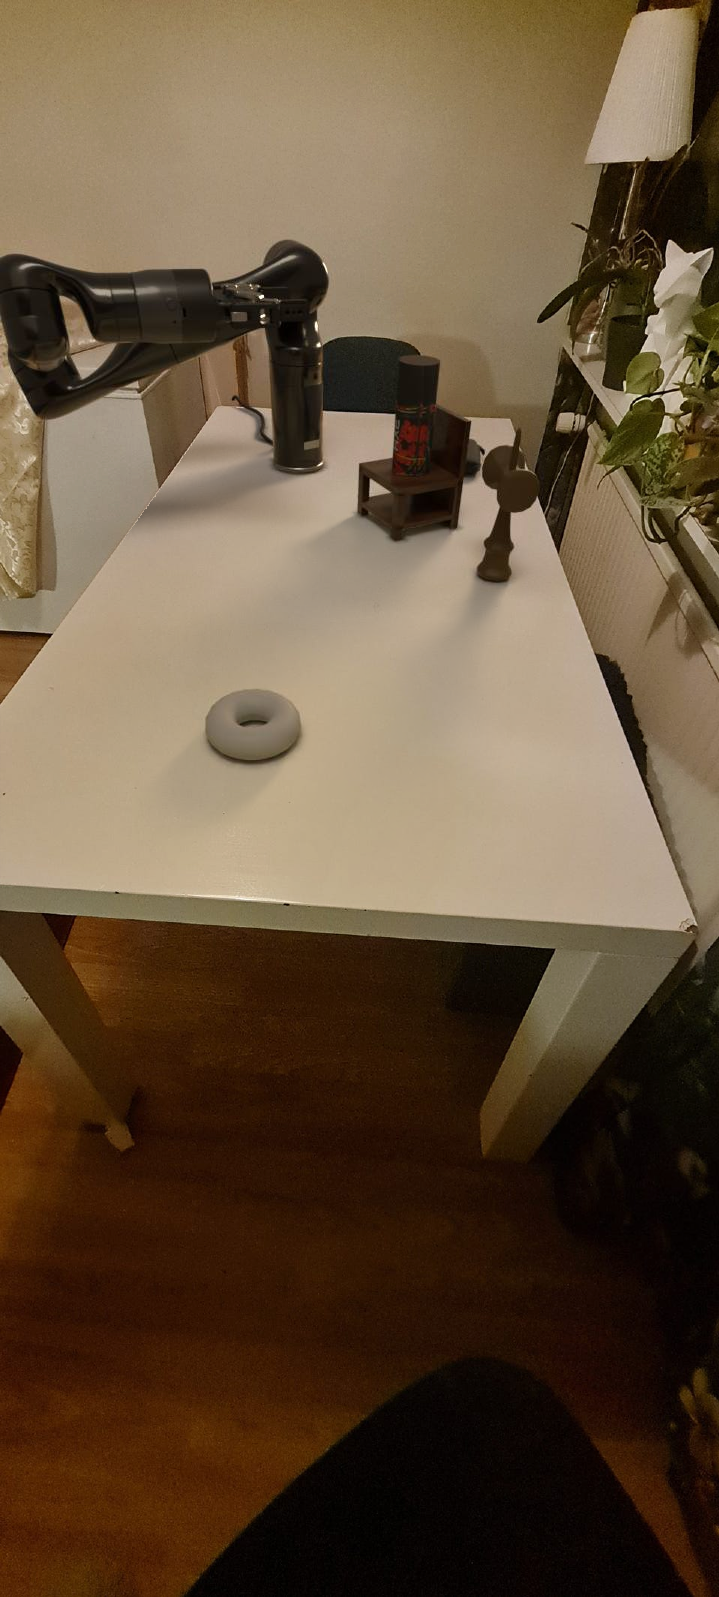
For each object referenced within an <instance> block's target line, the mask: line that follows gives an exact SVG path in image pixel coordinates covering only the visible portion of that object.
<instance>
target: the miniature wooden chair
mask: <svg viewBox="0 0 719 1597" xmlns="http://www.w3.org/2000/svg"><path fill="white" fill-rule="evenodd" d="M471 426H472V420H470V419H468V418H466V417H464V416H462V415H460V414H458V413H457V412H454V411H452V410H450V409H448V408H447V407H446V408H445V407H444V406H441V405H439V404H437V403H436V411H435V421H434V431H433V441H432V451H431V461H430V471H429V473H428V474H426V475H424V476H418V477H409V476H402V475H399V474H396V473H395V472H393V471H392V459H393V457H388V458H382V459H376V460H369V461H364V462H359V463H358V480H357V481H358V482H357V483H358V486H357V514H358V515H359V516H361V517H365V516H368V515H370V514H371V515H373V516H374V517H376V518H377V519H379V520H380V521H381V522H382V523H384V524H385V525H387V526H388V527H389V528H390V539H392V541H394V542H399V541H403V539H404V538H403V537H404V530H408V529H413V528H417V527H422V526H427V525H431V524H437V523H440V522H441V523H443V524H445V527H447V528H448V529H449V530H453V529H457V528H458V525H459V517H460V512H461V511H460V510H461V503H462V495H463V488H464V481H465V480H464V479H465V476H464V474H465V466H466V459H467V451H468V444H469V439H470V436H471V428H472V427H471ZM371 481H372V482H375V483H376V484H378V485H379V486H380V487H382V488H384V489H385V490H387V492H386V493H382V494H376V495H370V490H371V489H370V488H371ZM369 513H370V514H369Z"/></svg>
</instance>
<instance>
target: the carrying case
mask: <svg viewBox="0 0 719 1597" xmlns="http://www.w3.org/2000/svg"><path fill="white" fill-rule="evenodd" d="M485 455H486V450H485V448H483V447H482V445H481V444H478V442H477V440H475V439H473V438H469V444H468V451H467V459H466V466H465V474H464V477H472V476H475V475H476V474H477V473H478V472H480V471H481V469H482V462H481V461H482V460H481V456H483V457H484V456H485Z"/></svg>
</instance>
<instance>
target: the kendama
mask: <svg viewBox="0 0 719 1597" xmlns="http://www.w3.org/2000/svg"><path fill="white" fill-rule="evenodd" d="M521 441H522V428H521V427H518V428H517V429H516V432H515V435H514V439H513V444H512V445H511V444H502V445H497V446H495V447H494V448H492V449H490V450H489V452H488V453H487V455H486V456H485V457H484V459H483V462H482V465H481V477H482V480H483V482H484V485H485V486H487V487H488V488H489V489H491V490H494V491H495V490H496V503H497V504H498V506H499V508H498V510H497V514H496V517H495V520H494V523H493V526H492V530H491V531H490V534H489V536H487V537H485V539H484V540H483V547H484V555H483V558H482V560H481V561H480V562H479V563H478V565H477V567H476V572H477V573H478V575H479V576H480V577H482V578H483V579H485V580H489V581H496V582H498V581H504V580H507V579H509V578H510V577H511V576H512V574H513V573H512V568H511V566H510V563H509V562H510V554H511V553H512V551H514V549H515V543H514V542H513V540H512V537H511V536H512V535H511V525H512V524H511V521H512V520H511V519H512V513H513V514H517V513H523V512H525V511H527V510H529V509H530V508H531V507H532V506H533V505H534V504H535V502H537V499H538V495H539V492H540V481H539V478H538V476H537V474H536V473H534V472H533V471H532V470H529V469H526V458H525V455H524V452H523V451H522V450H521V449H520V448H521Z"/></svg>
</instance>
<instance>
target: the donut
mask: <svg viewBox="0 0 719 1597" xmlns="http://www.w3.org/2000/svg"><path fill="white" fill-rule="evenodd" d="M248 721H263V722H266V723H265V724H262V725H259V726H251V727H250V726H242V725H240V724H242V723H245V722H248ZM204 722H205V723H204V724H205V725H204V731H205V735H206V736H207V739H208V740H209V742H210V745H212V746H213V747H214V748H215V749H216V750H218V752H220V753H221V754H223V755H225V756H228V757H230V758H234V759H237V760H243V761H259V760H265V759H269V758H273V757H275V756H278V755H279V754H281V753H283V752H285V751H287V750H289V748H290V747H291V746H292V745H293V744H294V743H295V742H296V741H297V739H298V737H299V734H300V732H301V728H302V723H301V716H300V712H299V711H298V709H297V707H296V706H295V705H294V703H293V702H292V701H291V700H290V699H288V698H287V697H286V696H284V695H283V694H281V693H278V692H275V691H273V690H269V689H261V688H247V689H242V690H237V691H236V690H235V691H233V692H230V693H228V694H226V695H224V696H222V697H221V698H219V699H218V700H217V701H215V703H214V704H212V705H211V707H210V709H209V711H208V713H207V714H206V715H205V721H204Z"/></svg>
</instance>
